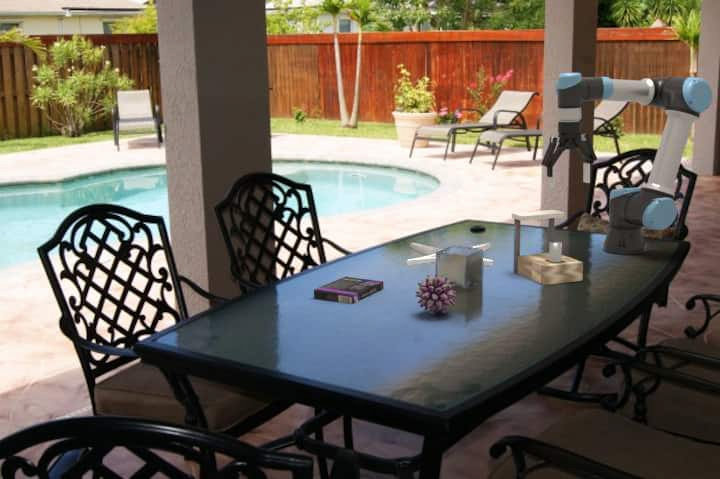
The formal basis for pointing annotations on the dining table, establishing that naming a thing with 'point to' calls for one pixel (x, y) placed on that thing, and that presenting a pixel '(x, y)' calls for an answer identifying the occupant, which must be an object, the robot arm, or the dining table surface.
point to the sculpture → (432, 251)
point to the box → (348, 290)
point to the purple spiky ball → (435, 293)
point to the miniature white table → (533, 216)
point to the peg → (555, 252)
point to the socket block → (550, 269)
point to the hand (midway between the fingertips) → (569, 184)
